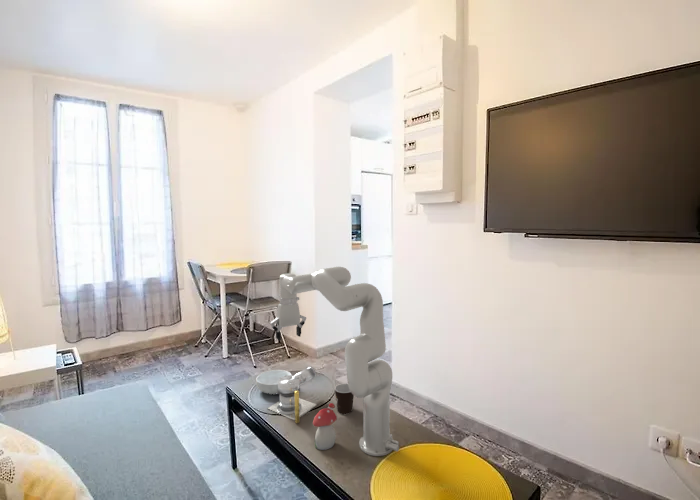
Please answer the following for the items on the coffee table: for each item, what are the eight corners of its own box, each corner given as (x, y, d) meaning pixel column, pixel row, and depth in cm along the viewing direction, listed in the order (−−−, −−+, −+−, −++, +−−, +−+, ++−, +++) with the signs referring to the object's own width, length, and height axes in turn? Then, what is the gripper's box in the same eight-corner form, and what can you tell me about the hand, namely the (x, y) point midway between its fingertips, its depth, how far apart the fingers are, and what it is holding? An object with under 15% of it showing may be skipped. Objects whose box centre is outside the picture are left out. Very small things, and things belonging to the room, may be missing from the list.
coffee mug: (353, 416, 153) (353, 393, 152) (333, 414, 154) (332, 392, 153) (357, 402, 164) (356, 381, 163) (338, 400, 165) (337, 379, 165)
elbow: (289, 398, 151) (289, 385, 151) (273, 392, 156) (272, 380, 156) (318, 380, 168) (318, 368, 167) (303, 375, 173) (303, 364, 172)
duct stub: (297, 425, 147) (296, 392, 145) (264, 411, 157) (263, 381, 156) (321, 407, 160) (321, 377, 159) (289, 395, 170) (289, 368, 169)
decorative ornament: (334, 437, 139) (333, 399, 137) (340, 447, 133) (340, 408, 131) (310, 443, 135) (310, 404, 134) (315, 453, 129) (315, 413, 128)
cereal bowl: (298, 385, 181) (297, 371, 180) (282, 401, 165) (281, 386, 165) (267, 380, 186) (267, 367, 186) (249, 396, 171) (249, 381, 170)
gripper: (302, 297, 172) (302, 332, 174) (266, 301, 163) (267, 338, 165) (309, 300, 166) (309, 336, 168) (272, 305, 157) (273, 343, 159)
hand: (288, 337), depth 166 cm, fingers open, 9 cm apart
